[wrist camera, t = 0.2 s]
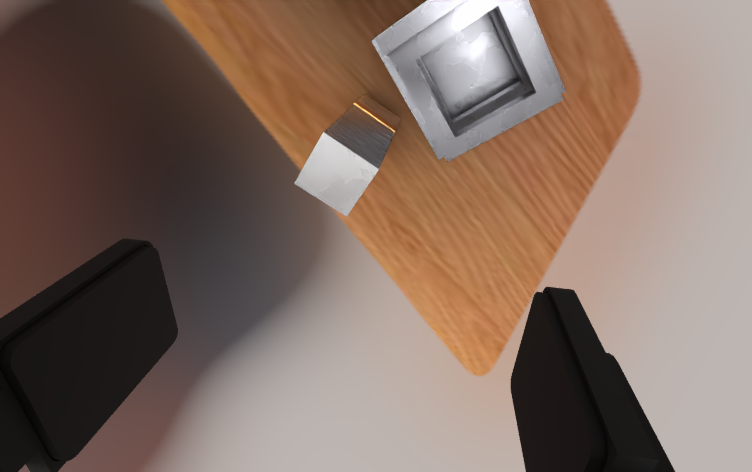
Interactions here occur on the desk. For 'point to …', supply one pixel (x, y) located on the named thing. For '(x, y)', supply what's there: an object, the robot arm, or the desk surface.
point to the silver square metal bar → (349, 154)
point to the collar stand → (470, 69)
